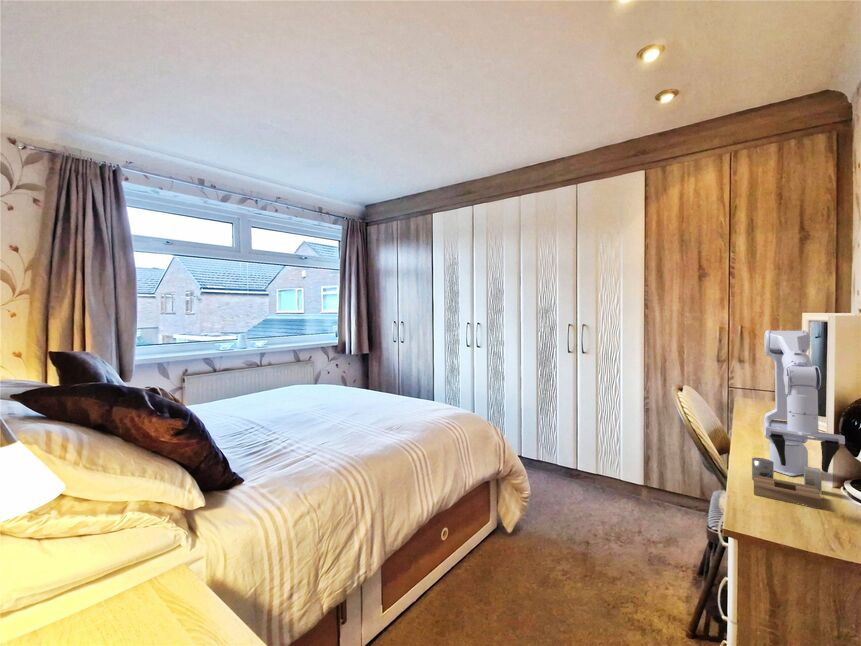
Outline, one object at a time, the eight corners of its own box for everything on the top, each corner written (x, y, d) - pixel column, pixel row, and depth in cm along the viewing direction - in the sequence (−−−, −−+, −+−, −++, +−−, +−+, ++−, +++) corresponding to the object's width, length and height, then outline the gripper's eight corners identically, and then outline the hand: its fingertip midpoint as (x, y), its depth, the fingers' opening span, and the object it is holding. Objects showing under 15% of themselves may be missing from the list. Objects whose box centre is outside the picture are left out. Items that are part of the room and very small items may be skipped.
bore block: (753, 483, 112) (753, 474, 112) (816, 496, 104) (816, 487, 104) (753, 494, 105) (753, 485, 105) (821, 509, 97) (821, 499, 97)
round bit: (752, 476, 117) (752, 456, 117) (773, 480, 114) (773, 460, 114) (752, 481, 114) (752, 461, 113) (773, 485, 110) (773, 464, 110)
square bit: (803, 487, 109) (803, 466, 109) (819, 490, 107) (819, 468, 107) (805, 491, 107) (805, 469, 107) (821, 494, 105) (821, 472, 105)
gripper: (767, 411, 99) (768, 465, 98) (848, 419, 91) (850, 478, 90) (763, 408, 105) (764, 459, 104) (839, 416, 97) (840, 471, 96)
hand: (803, 468), depth 98 cm, fingers open, 7 cm apart
